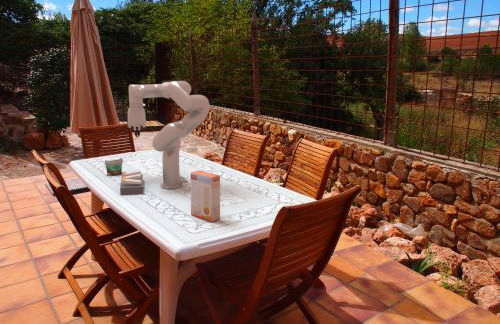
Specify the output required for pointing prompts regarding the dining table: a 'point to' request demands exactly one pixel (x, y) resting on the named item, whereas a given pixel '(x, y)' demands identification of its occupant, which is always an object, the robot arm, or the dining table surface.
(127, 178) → the rocker middle
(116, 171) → the food container
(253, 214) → the dining table surface
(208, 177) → the cracker box
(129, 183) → the rocker near
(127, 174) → the rocker far
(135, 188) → the grey switch panel
